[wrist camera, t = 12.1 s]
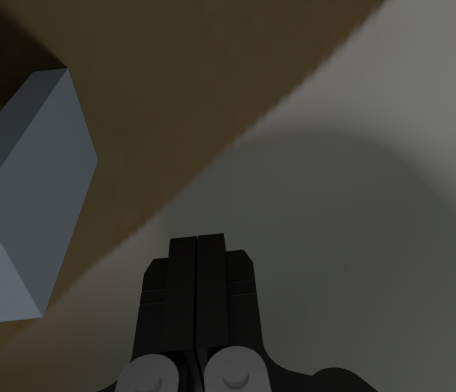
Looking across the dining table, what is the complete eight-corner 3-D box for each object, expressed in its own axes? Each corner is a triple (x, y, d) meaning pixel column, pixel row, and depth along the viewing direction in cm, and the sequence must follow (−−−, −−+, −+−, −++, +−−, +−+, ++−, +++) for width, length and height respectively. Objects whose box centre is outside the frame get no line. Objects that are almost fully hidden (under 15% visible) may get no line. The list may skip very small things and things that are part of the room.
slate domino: (67, 163, 23) (-4, 322, 15) (32, 71, 20) (-81, 208, 12) (98, 160, 23) (42, 317, 15) (67, 68, 20) (-23, 201, 12)
